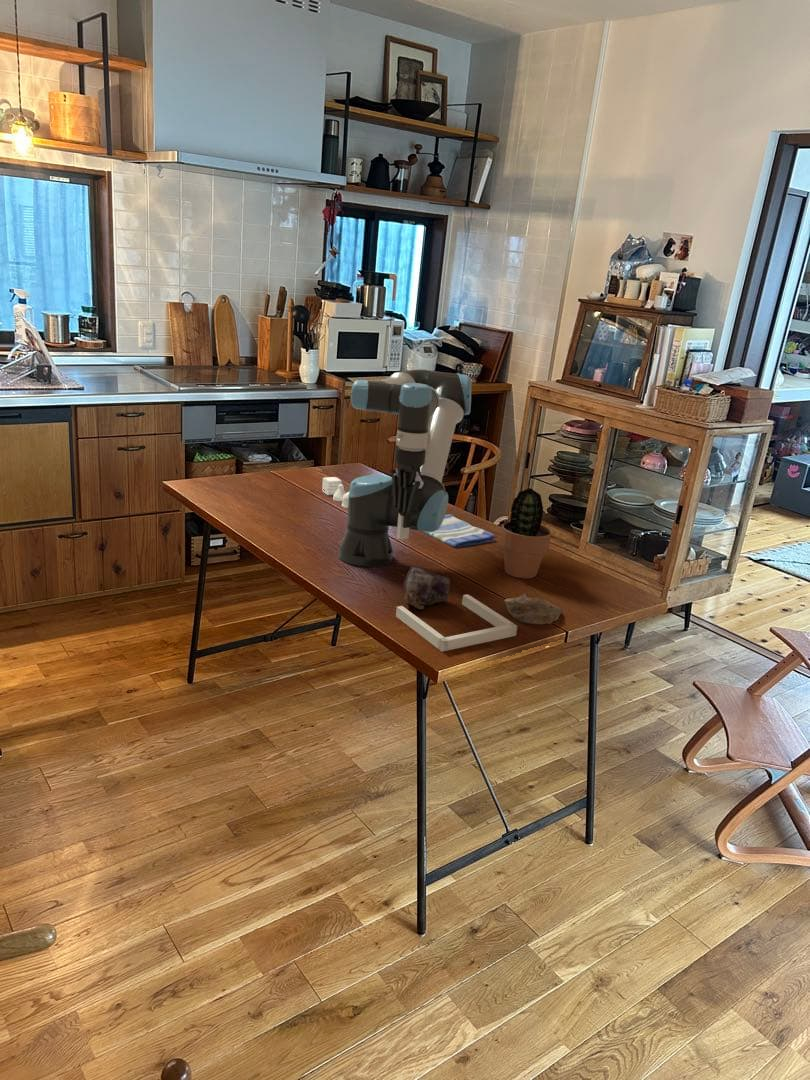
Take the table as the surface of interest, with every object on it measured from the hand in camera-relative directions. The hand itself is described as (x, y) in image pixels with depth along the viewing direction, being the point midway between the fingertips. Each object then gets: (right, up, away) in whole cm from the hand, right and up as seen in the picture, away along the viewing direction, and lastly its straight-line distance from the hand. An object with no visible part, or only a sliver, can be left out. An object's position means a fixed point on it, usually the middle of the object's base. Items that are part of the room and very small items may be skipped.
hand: (402, 538), depth 208 cm
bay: (+12, -20, -15) cm, 28 cm away
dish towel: (+15, +1, +50) cm, 52 cm away
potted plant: (+33, -10, +21) cm, 41 cm away
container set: (-22, +13, +73) cm, 77 cm away
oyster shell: (+33, -19, -5) cm, 38 cm away
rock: (+5, -16, -4) cm, 17 cm away
